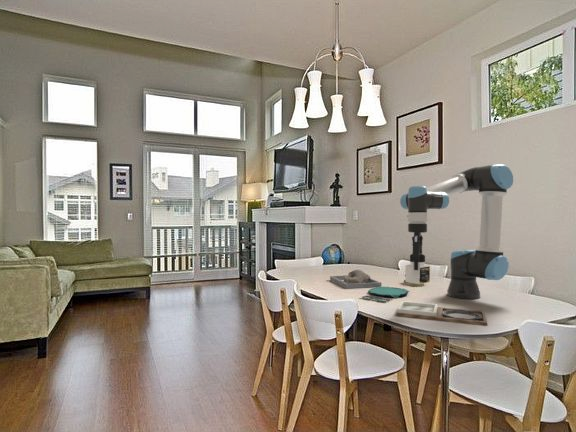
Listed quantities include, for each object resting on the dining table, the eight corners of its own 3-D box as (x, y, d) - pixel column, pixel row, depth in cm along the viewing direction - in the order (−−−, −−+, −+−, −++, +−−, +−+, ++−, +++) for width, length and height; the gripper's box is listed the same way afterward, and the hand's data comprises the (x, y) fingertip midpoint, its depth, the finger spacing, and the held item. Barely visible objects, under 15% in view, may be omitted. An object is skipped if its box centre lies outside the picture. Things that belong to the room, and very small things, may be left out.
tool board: (484, 313, 157) (484, 307, 157) (487, 325, 140) (487, 318, 140) (402, 305, 170) (402, 300, 170) (396, 315, 154) (396, 309, 154)
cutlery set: (414, 293, 197) (414, 289, 197) (389, 305, 174) (389, 300, 174) (379, 289, 210) (379, 285, 210) (351, 299, 187) (351, 295, 187)
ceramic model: (399, 282, 227) (399, 266, 227) (416, 281, 229) (416, 265, 229) (411, 287, 213) (411, 269, 213) (429, 286, 216) (429, 268, 215)
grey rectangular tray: (361, 278, 241) (361, 274, 241) (381, 286, 214) (381, 282, 214) (330, 280, 236) (330, 276, 236) (346, 288, 209) (346, 284, 209)
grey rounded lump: (362, 299, 219) (364, 281, 232) (371, 290, 214) (373, 273, 226) (338, 285, 218) (342, 268, 230) (347, 276, 213) (349, 259, 225)
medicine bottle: (419, 284, 154) (419, 255, 154) (405, 281, 159) (405, 253, 159) (430, 282, 158) (430, 253, 158) (415, 280, 164) (415, 252, 164)
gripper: (411, 222, 170) (411, 271, 170) (404, 223, 150) (404, 279, 150) (428, 222, 167) (428, 272, 167) (424, 223, 147) (424, 280, 147)
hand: (417, 275), depth 159 cm, fingers closed on medicine bottle, 9 cm apart
